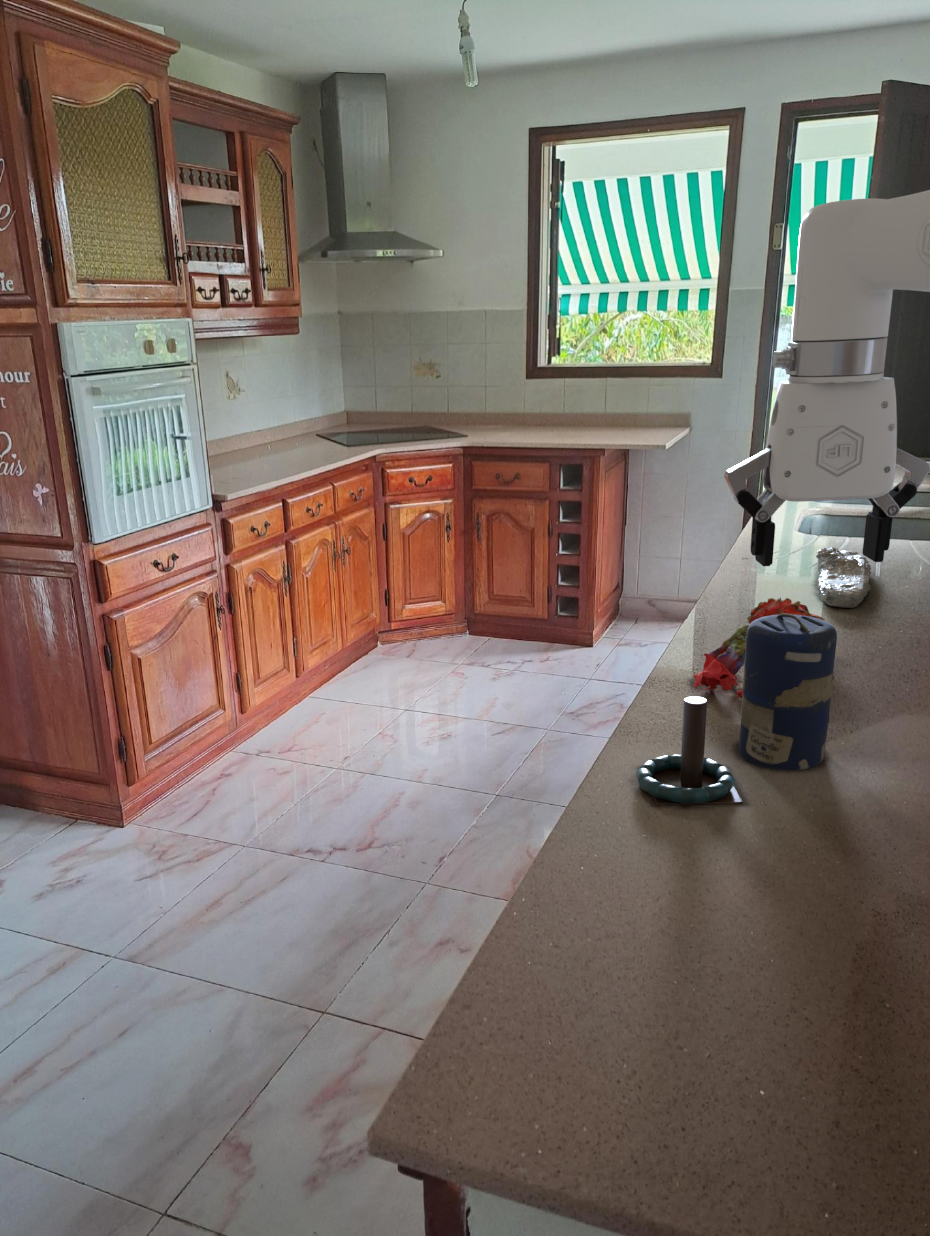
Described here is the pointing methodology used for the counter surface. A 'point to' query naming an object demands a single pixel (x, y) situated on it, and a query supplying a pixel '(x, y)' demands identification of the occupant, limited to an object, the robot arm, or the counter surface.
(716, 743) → the counter surface
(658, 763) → the ring
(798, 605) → the dragon fruit
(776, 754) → the canister
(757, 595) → the counter surface
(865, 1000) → the counter surface
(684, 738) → the post stand
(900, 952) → the counter surface
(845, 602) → the foil wrapped parcel
